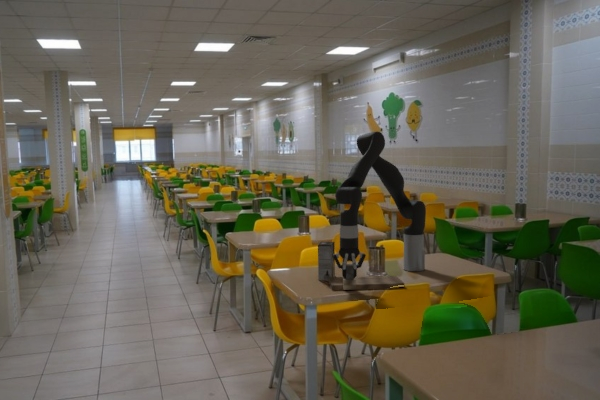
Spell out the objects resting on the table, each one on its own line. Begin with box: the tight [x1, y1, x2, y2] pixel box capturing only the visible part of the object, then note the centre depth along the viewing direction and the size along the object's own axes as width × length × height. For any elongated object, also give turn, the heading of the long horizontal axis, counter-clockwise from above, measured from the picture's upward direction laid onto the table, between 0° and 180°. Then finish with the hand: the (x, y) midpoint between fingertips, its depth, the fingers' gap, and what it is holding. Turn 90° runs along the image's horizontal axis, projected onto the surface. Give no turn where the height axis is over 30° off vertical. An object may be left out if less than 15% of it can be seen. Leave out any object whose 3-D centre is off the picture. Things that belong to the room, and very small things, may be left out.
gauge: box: [342, 263, 357, 291], centre depth 218 cm, size 5×13×10 cm, turn 3°
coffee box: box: [317, 241, 336, 282], centre depth 235 cm, size 9×6×16 cm
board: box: [327, 275, 405, 291], centre depth 222 cm, size 30×14×2 cm, turn 93°
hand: (349, 277), depth 213 cm, fingers closed on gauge, 3 cm apart
